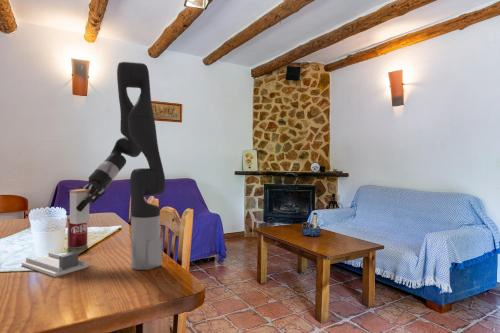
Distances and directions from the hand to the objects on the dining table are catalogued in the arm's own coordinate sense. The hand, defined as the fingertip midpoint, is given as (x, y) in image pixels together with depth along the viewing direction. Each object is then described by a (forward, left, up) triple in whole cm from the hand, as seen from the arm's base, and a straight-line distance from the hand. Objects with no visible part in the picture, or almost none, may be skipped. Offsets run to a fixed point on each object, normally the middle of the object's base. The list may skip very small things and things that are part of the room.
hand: (74, 209), depth 117 cm
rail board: (-3, +9, -18) cm, 20 cm away
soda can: (+14, -10, -18) cm, 25 cm away
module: (0, -2, -5) cm, 5 cm away
